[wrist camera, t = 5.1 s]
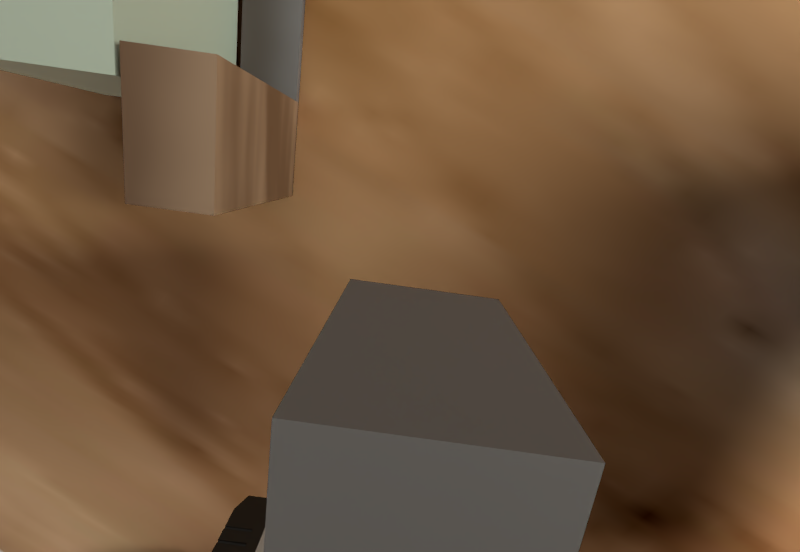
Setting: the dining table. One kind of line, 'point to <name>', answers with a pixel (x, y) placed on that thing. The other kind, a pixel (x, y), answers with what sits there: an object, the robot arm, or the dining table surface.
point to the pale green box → (106, 36)
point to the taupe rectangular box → (214, 117)
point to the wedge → (425, 435)
